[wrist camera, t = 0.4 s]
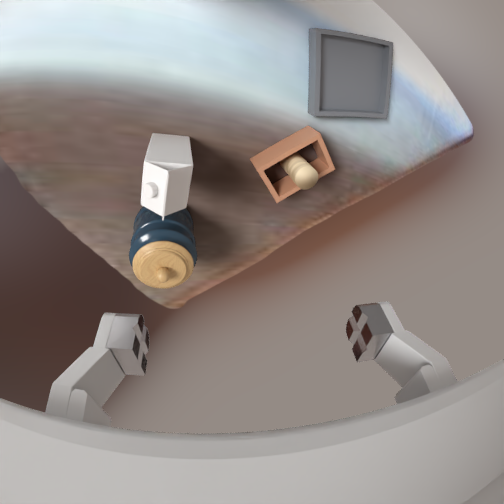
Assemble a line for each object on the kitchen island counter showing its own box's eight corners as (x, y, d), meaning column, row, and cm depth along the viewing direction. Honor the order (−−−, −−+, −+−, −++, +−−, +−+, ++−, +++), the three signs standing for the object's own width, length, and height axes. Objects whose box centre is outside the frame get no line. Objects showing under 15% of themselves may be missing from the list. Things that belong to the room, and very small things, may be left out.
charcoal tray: (308, 28, 40) (315, 28, 37) (384, 41, 42) (393, 42, 40) (308, 112, 51) (314, 116, 49) (379, 114, 54) (386, 118, 52)
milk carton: (189, 136, 49) (195, 176, 35) (183, 169, 54) (187, 222, 40) (152, 132, 47) (140, 172, 33) (148, 166, 51) (138, 219, 37)
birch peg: (278, 149, 56) (296, 168, 48) (298, 147, 56) (319, 166, 49) (278, 169, 58) (294, 190, 51) (297, 167, 59) (317, 188, 52)
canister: (168, 185, 55) (167, 236, 42) (204, 226, 63) (214, 282, 50) (122, 220, 57) (111, 277, 44) (160, 255, 65) (160, 313, 52)
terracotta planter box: (249, 158, 55) (256, 169, 51) (308, 125, 53) (319, 133, 49) (269, 190, 61) (277, 203, 57) (323, 159, 59) (335, 169, 55)
